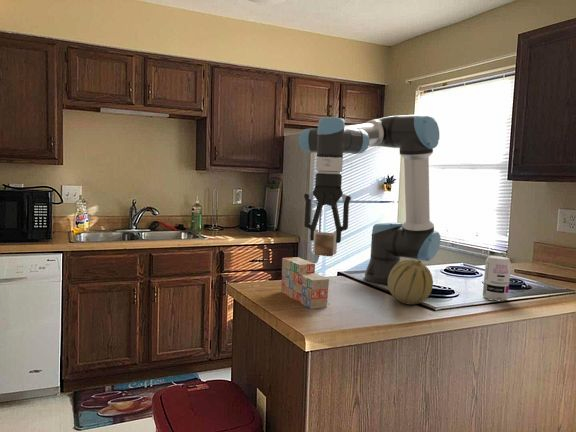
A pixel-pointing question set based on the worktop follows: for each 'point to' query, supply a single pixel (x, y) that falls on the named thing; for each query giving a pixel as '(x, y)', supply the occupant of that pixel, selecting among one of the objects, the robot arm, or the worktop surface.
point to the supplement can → (496, 278)
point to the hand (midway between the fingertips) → (324, 252)
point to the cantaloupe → (410, 282)
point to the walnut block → (324, 244)
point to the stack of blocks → (304, 283)
